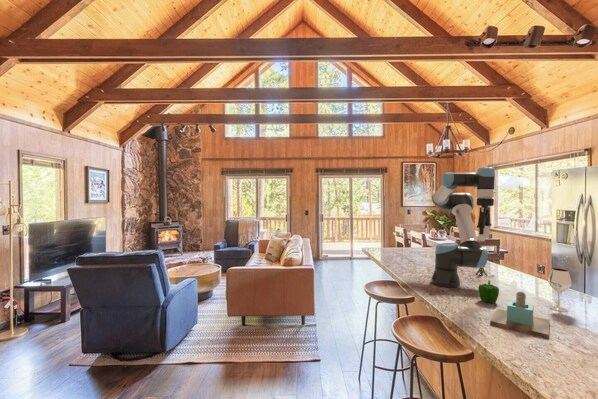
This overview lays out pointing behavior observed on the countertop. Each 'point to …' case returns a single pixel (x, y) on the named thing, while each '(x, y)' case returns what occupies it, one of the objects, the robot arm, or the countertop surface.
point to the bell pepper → (488, 292)
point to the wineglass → (559, 284)
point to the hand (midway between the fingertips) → (483, 239)
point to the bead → (520, 313)
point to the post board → (538, 326)
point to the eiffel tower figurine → (482, 273)
